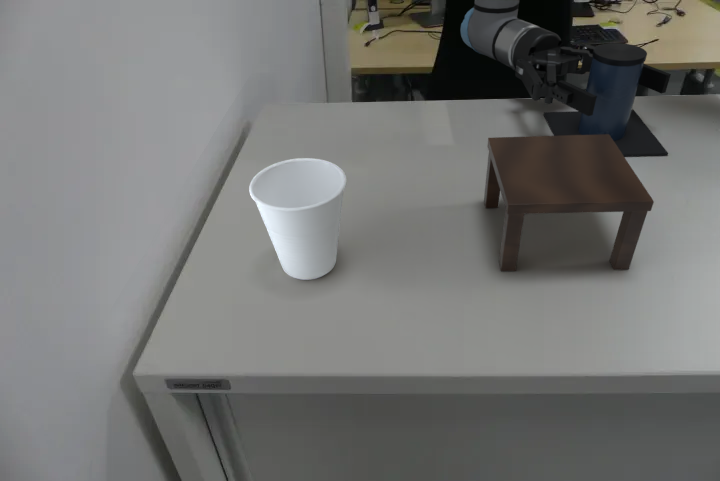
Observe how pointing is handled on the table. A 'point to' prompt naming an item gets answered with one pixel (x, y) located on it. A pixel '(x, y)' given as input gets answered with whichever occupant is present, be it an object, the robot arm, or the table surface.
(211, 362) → the table surface
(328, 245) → the cup
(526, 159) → the small brown wooden table
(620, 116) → the blue lidded tin
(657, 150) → the mat
